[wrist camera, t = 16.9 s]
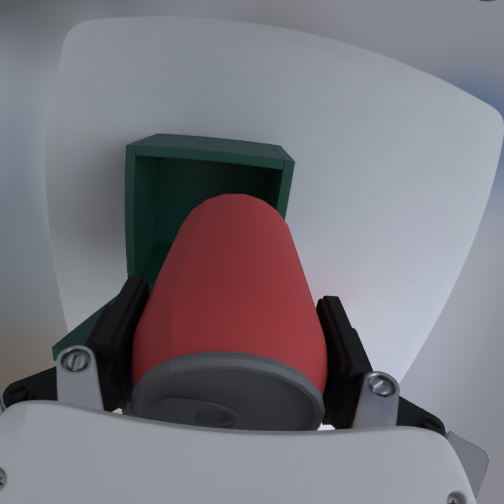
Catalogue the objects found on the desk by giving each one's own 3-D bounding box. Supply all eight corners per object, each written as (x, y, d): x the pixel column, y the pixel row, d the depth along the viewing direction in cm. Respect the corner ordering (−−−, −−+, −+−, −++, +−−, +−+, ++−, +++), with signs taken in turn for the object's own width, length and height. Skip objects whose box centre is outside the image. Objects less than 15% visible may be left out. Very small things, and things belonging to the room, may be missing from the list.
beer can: (208, 169, 17) (146, 298, 6) (311, 222, 18) (390, 386, 7) (163, 264, 19) (99, 433, 8) (257, 306, 21) (268, 479, 10)
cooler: (157, 133, 29) (125, 145, 21) (280, 145, 30) (295, 161, 22) (153, 244, 35) (128, 288, 27) (262, 256, 36) (268, 305, 28)
